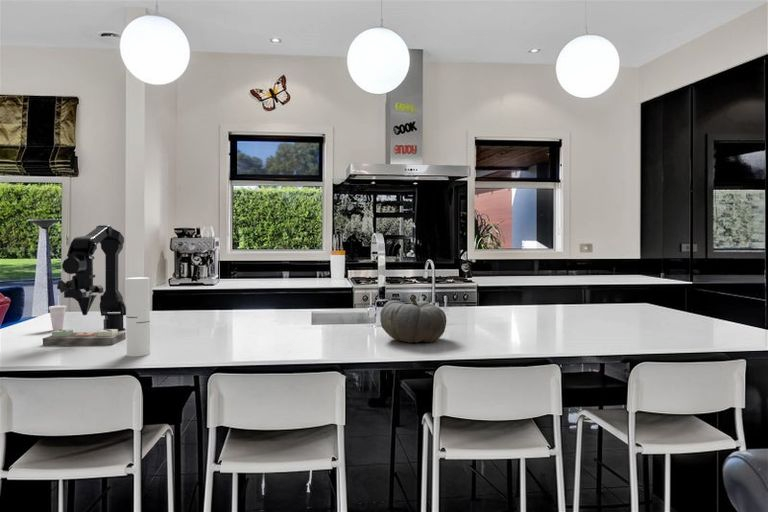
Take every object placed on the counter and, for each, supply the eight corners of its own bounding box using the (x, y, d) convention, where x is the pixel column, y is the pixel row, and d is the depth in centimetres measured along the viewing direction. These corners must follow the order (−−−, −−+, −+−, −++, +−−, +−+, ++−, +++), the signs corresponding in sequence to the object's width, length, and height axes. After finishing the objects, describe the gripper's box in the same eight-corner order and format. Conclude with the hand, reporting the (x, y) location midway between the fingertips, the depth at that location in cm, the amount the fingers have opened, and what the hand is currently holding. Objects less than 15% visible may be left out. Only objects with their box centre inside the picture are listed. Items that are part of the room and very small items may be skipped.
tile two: (52, 340, 207) (51, 331, 207) (59, 338, 212) (58, 329, 212) (66, 340, 207) (66, 331, 207) (73, 338, 212) (72, 329, 212)
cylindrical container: (131, 352, 192) (130, 277, 192) (153, 351, 193) (152, 277, 192) (123, 356, 185) (122, 279, 184) (146, 356, 186) (145, 278, 185)
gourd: (363, 333, 215) (372, 287, 215) (406, 335, 233) (414, 293, 234) (413, 349, 198) (423, 299, 198) (455, 351, 216) (464, 305, 216)
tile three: (98, 340, 208) (97, 331, 208) (103, 337, 213) (103, 328, 213) (112, 340, 208) (112, 330, 208) (117, 337, 213) (117, 328, 213)
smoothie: (58, 331, 233) (58, 296, 233) (45, 330, 235) (44, 296, 234) (70, 328, 240) (69, 295, 239) (57, 328, 241) (56, 294, 240)
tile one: (75, 343, 208) (75, 334, 208) (81, 340, 213) (81, 331, 213) (89, 343, 208) (89, 333, 208) (95, 340, 213) (95, 331, 213)
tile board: (42, 345, 204) (42, 338, 203) (59, 339, 216) (59, 332, 215) (112, 344, 205) (112, 337, 205) (125, 338, 217) (125, 332, 217)
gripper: (73, 270, 218) (74, 311, 219) (47, 274, 200) (48, 318, 200) (103, 270, 219) (104, 311, 219) (81, 273, 200) (81, 318, 201)
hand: (84, 315), depth 210 cm, fingers closed
